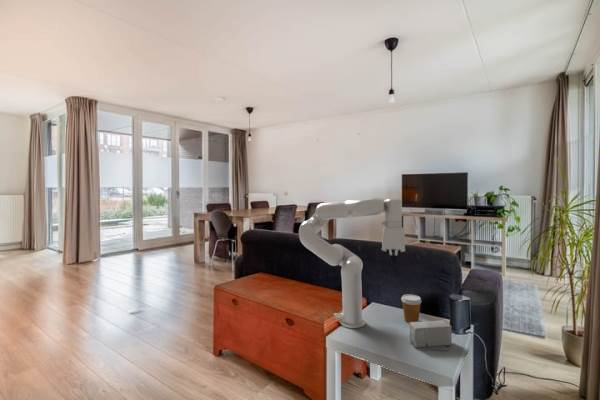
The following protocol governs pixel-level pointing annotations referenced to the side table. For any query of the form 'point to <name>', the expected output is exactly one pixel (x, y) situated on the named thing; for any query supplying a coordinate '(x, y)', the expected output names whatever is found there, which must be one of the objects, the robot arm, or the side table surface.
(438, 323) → the skincare box
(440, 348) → the mat
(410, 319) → the disposable coffee cup
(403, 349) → the side table surface
